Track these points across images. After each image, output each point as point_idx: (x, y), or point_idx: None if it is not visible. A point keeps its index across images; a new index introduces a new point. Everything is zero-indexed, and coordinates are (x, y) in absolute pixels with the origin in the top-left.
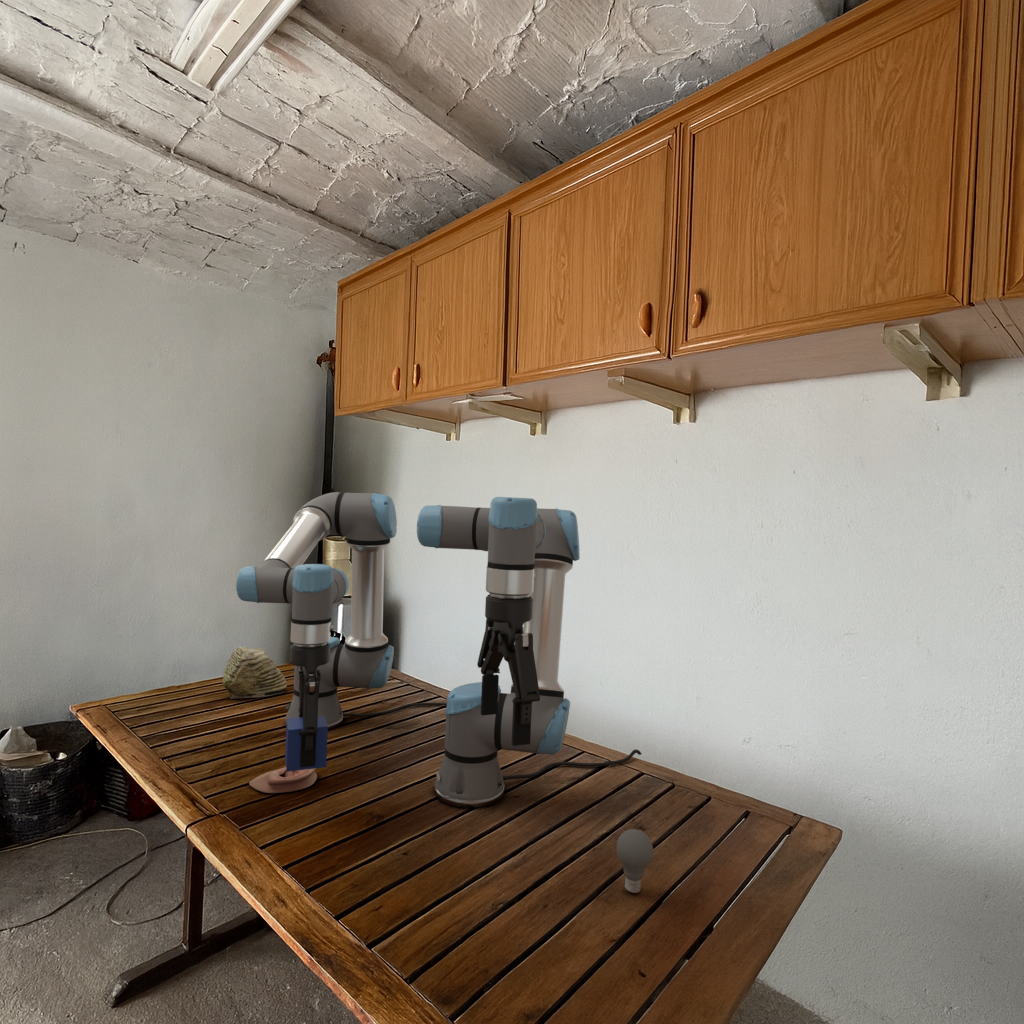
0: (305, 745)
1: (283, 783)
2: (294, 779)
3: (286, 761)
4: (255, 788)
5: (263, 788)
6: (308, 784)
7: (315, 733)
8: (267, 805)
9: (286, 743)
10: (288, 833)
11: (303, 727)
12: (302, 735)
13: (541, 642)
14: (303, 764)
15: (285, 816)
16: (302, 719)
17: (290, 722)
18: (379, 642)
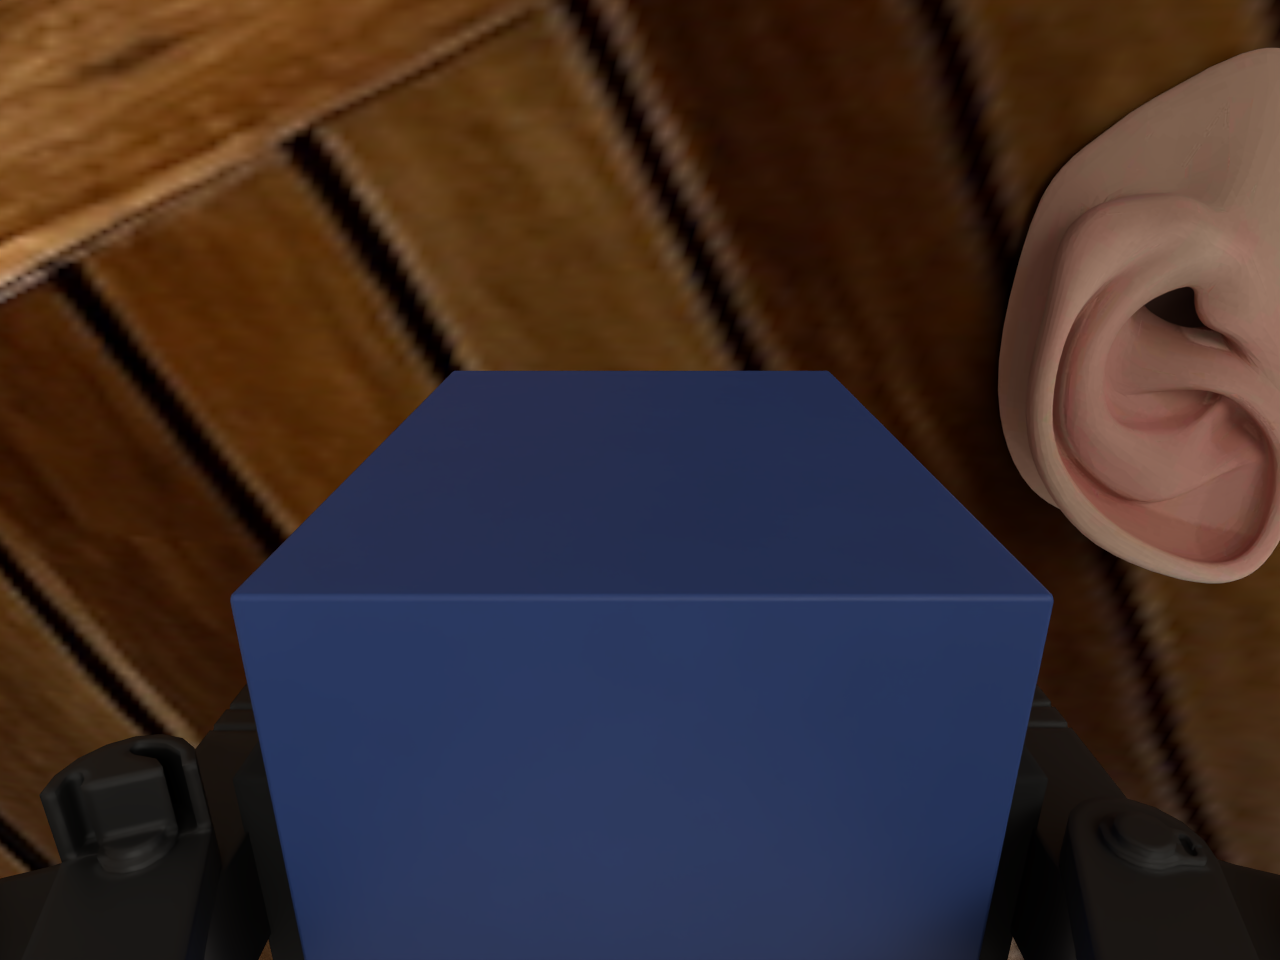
0: (226, 716)
1: (1045, 313)
2: (1034, 396)
3: (514, 391)
4: (1152, 100)
5: (1100, 162)
6: (1032, 473)
7: (280, 951)
8: (864, 190)
9: (666, 442)
10: (443, 312)
11: (41, 931)
12: (249, 769)
13: None
14: None
15: (665, 304)
16: (855, 878)
17: (736, 663)
18: None
